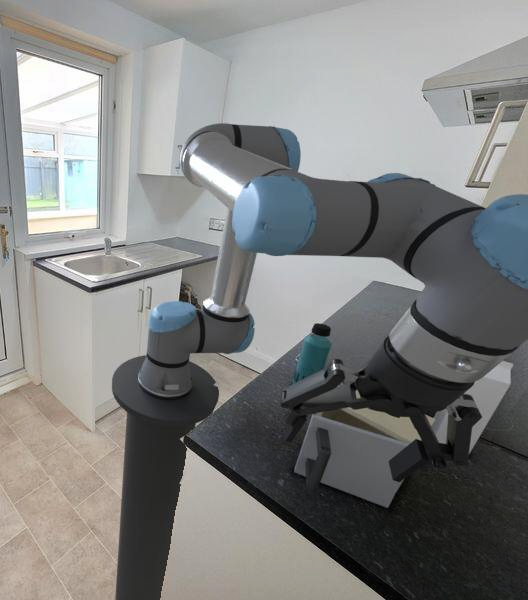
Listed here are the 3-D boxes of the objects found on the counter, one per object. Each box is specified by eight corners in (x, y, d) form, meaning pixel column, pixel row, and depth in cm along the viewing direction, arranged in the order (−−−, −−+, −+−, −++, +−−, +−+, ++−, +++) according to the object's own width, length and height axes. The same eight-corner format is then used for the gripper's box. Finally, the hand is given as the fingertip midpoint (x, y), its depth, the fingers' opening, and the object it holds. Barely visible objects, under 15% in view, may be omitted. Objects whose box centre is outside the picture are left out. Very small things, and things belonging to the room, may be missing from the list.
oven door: (398, 542, 50) (433, 481, 45) (294, 499, 56) (315, 441, 51) (386, 503, 56) (415, 445, 51) (294, 468, 62) (312, 413, 57)
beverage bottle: (319, 390, 87) (340, 326, 79) (312, 401, 82) (334, 334, 75) (294, 380, 91) (312, 317, 84) (286, 389, 86) (305, 324, 79)
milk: (467, 456, 67) (520, 370, 59) (430, 442, 71) (475, 359, 62) (462, 439, 72) (510, 358, 64) (427, 427, 75) (469, 347, 67)
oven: (388, 504, 56) (418, 445, 51) (304, 447, 67) (322, 394, 62) (407, 474, 62) (435, 419, 57) (327, 427, 73) (345, 377, 68)
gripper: (296, 344, 32) (246, 442, 46) (632, 436, 25) (454, 520, 38) (296, 302, 38) (251, 400, 51) (573, 367, 30) (435, 462, 44)
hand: (338, 452), depth 45 cm, fingers open, 13 cm apart
